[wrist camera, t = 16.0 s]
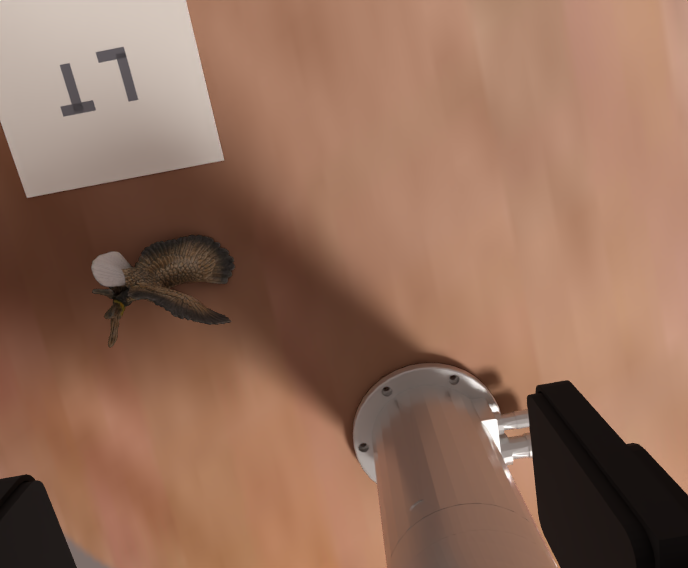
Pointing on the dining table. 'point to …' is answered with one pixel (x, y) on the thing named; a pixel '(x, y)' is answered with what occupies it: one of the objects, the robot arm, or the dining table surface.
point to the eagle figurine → (164, 278)
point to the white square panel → (102, 91)
